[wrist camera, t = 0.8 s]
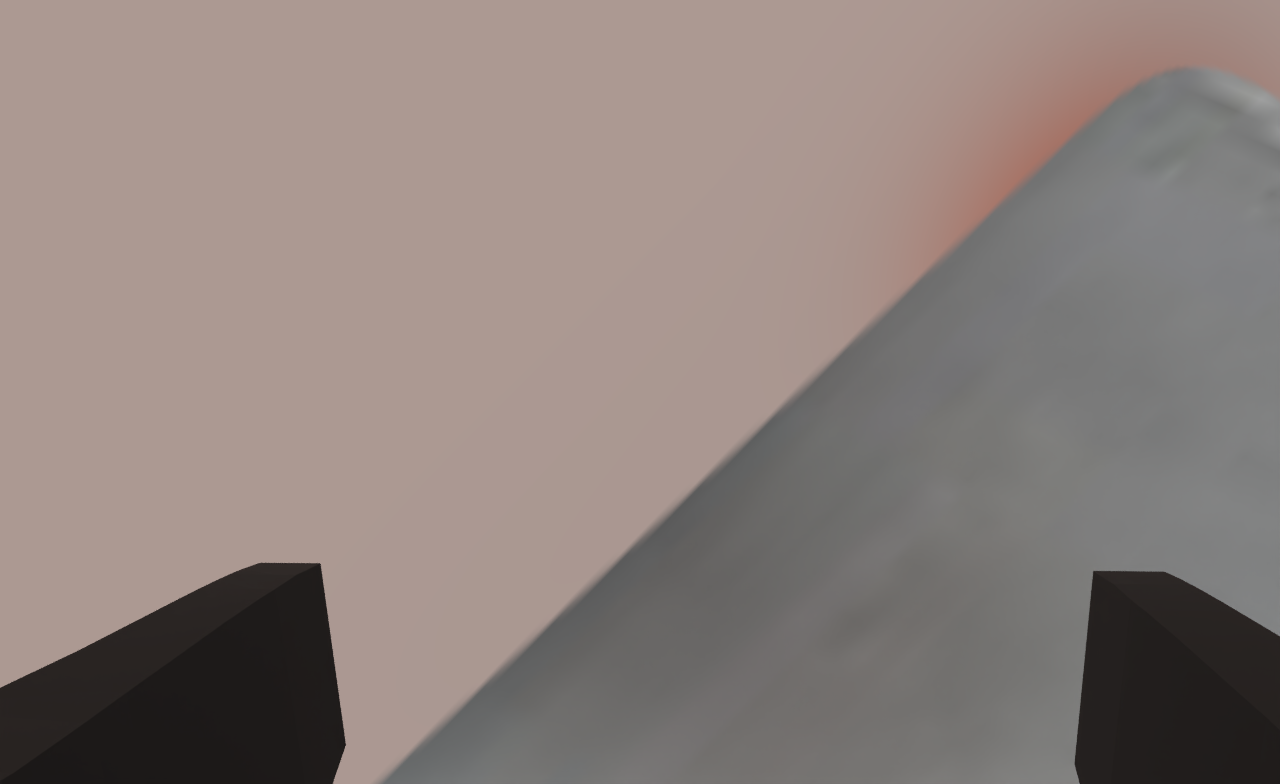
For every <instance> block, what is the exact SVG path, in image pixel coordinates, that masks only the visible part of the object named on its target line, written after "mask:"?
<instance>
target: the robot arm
mask: <svg viewBox="0 0 1280 784" xmlns="http://www.w3.org/2000/svg"><path fill="white" fill-rule="evenodd" d="M345 746H346V743H345V736H344V728H343V721H342V714H341V708H340V701H339V693H338V686H337V678H336V671H335V664H334V657H333V650H332V643H331V635H330V628H329V621H328V614H327V607H326V600H325V593H324V586H323V579H322V571H321V564H320V563H258V564H256V565H253V566H250V567H247V568H244V569H241V570H239V571H236V572H234V573H232V574H230V575H227V576H225V577H223V578H221V579H219V580H216V581H214V582H212V583H210V584H208V585H206V586H204V587H202V588H200V589H198V590H196V591H194V592H192V593H190V594H188V595H186V596H184V597H182V598H180V599H178V600H176V601H174V602H172V603H170V604H168V605H166V606H164V607H162V608H160V609H159V610H156V611H155V612H153V613H151V614H149V615H147V616H145V617H143V618H141V619H139V620H137V621H135V622H133V623H131V624H129V625H127V626H126V627H123V628H122V629H120V630H118V631H116V632H114V633H112V634H110V635H108V636H106V637H104V638H102V639H100V640H98V641H96V642H95V643H92V644H90V645H88V646H87V647H85V648H83V649H81V650H79V651H77V652H75V653H73V654H70V655H68V656H66V657H64V658H62V659H60V660H58V661H56V662H54V663H52V664H49V665H47V666H45V667H43V668H41V669H39V670H37V671H35V672H33V673H30V674H28V675H26V676H24V677H22V678H20V679H18V680H16V681H14V682H11V683H10V684H7V685H5V686H3V687H1V688H0V784H333V781H334V778H335V775H336V772H337V769H338V766H339V763H340V760H341V757H342V754H343V752H344V749H345ZM1075 767H1076V771H1077V775H1078V778H1079V782H1080V784H1280V636H1278V635H1276V634H1275V633H1273V632H1271V631H1270V630H1268V629H1266V628H1265V627H1263V626H1261V625H1260V624H1258V623H1256V622H1255V621H1253V620H1251V619H1250V618H1248V617H1246V616H1245V615H1243V614H1241V613H1240V612H1238V611H1236V610H1235V609H1233V608H1231V607H1229V606H1228V605H1226V604H1224V603H1223V602H1221V601H1219V600H1217V599H1216V598H1214V597H1212V596H1211V595H1209V594H1207V593H1205V592H1204V591H1202V590H1200V589H1198V588H1196V587H1195V586H1193V585H1191V584H1189V583H1187V582H1185V581H1183V580H1181V579H1179V578H1177V577H1175V576H1172V575H1170V574H1168V573H1166V572H1134V571H1093V580H1092V590H1091V601H1090V611H1089V621H1088V632H1087V642H1086V652H1085V662H1084V673H1083V683H1082V693H1081V704H1080V714H1079V724H1078V734H1077V745H1076V755H1075Z"/></svg>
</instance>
